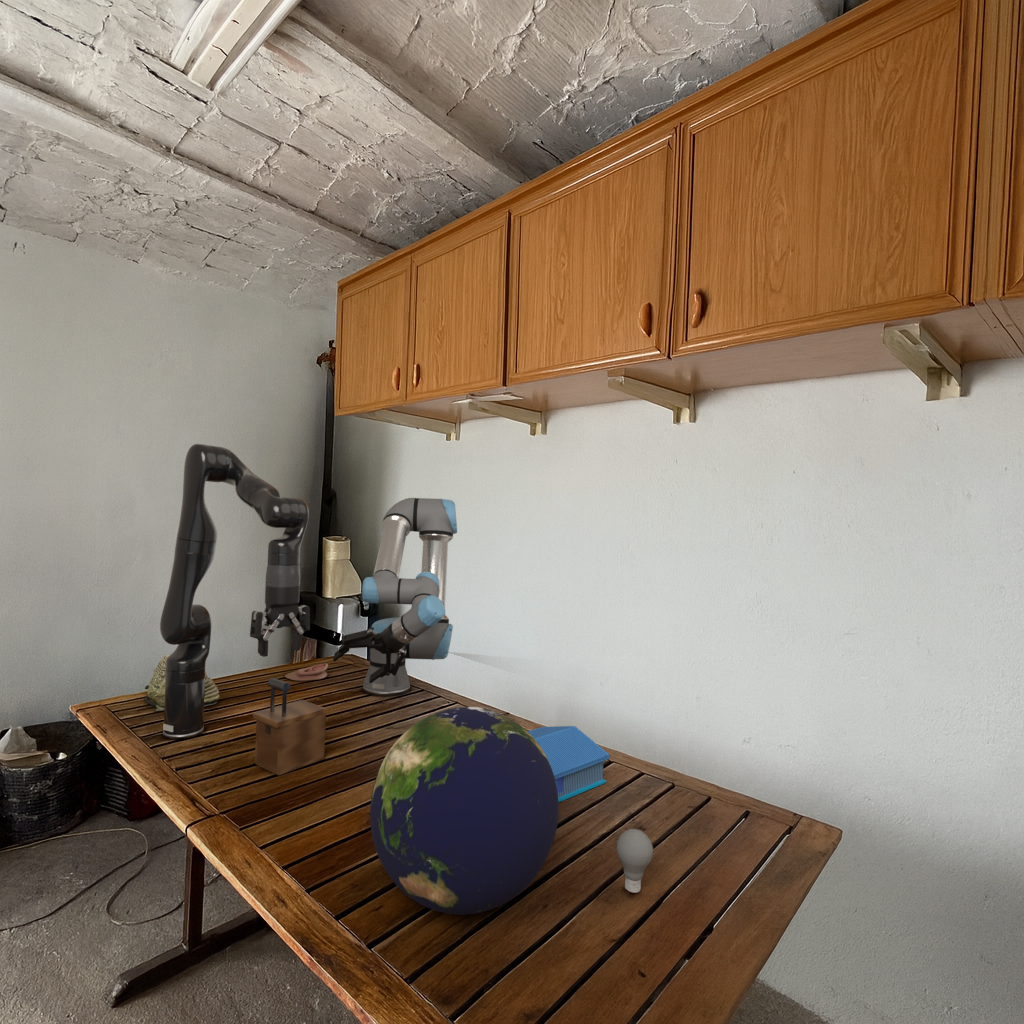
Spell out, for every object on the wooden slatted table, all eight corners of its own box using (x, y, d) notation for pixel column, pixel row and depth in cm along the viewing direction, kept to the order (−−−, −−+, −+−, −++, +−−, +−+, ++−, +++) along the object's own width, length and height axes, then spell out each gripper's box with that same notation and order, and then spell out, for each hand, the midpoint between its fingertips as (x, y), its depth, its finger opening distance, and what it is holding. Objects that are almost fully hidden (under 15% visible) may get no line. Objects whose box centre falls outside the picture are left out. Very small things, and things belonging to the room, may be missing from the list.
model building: (485, 844, 118) (488, 791, 117) (412, 795, 136) (414, 749, 136) (617, 787, 144) (619, 743, 144) (541, 752, 162) (543, 713, 162)
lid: (276, 728, 142) (278, 687, 142) (252, 718, 147) (254, 679, 147) (326, 713, 153) (327, 675, 152) (301, 704, 158) (303, 668, 158)
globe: (325, 925, 94) (333, 724, 93) (426, 831, 121) (433, 676, 121) (512, 993, 82) (522, 765, 82) (577, 872, 110) (584, 701, 110)
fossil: (144, 707, 182) (145, 655, 182) (212, 696, 194) (213, 647, 194) (151, 716, 175) (153, 662, 175) (221, 703, 188) (223, 653, 188)
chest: (278, 775, 143) (280, 727, 143) (254, 763, 148) (256, 717, 148) (324, 758, 153) (325, 713, 153) (300, 748, 158) (301, 704, 158)
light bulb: (610, 879, 108) (613, 822, 108) (644, 879, 109) (647, 822, 109) (619, 902, 102) (622, 840, 102) (655, 901, 103) (658, 840, 103)
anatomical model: (280, 667, 215) (298, 659, 227) (279, 678, 215) (297, 670, 227) (316, 671, 213) (332, 662, 224) (315, 682, 213) (332, 673, 224)
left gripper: (264, 588, 139) (261, 661, 139) (318, 582, 150) (316, 650, 151) (245, 584, 143) (242, 655, 143) (299, 579, 155) (296, 645, 155)
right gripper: (364, 620, 173) (316, 657, 181) (431, 664, 184) (383, 697, 192) (368, 601, 179) (321, 638, 187) (433, 644, 190) (386, 678, 198)
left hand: (280, 652), depth 147 cm, fingers open, 8 cm apart
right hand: (352, 668), depth 189 cm, fingers open, 13 cm apart
